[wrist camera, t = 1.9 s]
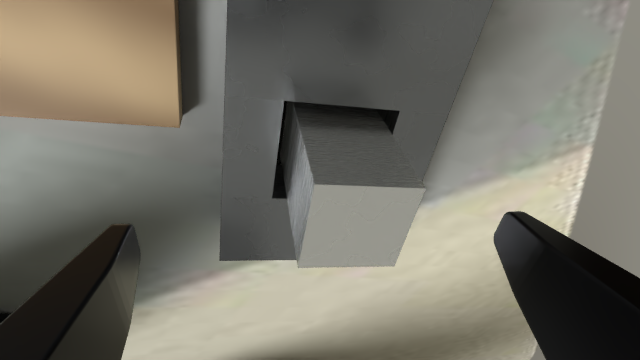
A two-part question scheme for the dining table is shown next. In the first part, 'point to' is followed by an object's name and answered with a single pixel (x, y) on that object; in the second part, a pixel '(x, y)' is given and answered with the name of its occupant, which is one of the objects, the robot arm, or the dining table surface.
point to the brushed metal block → (346, 186)
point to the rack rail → (330, 91)
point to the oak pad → (91, 61)
